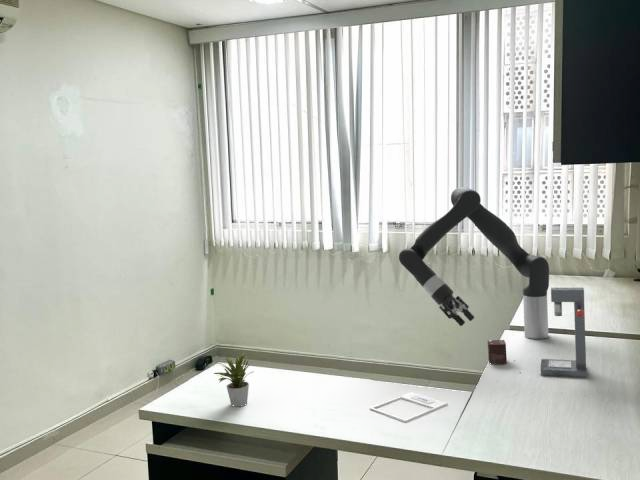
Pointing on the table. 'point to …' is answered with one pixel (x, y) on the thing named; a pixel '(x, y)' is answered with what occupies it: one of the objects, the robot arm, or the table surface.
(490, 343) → the box
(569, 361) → the press
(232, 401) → the house plant
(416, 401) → the photo frame
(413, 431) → the table surface
